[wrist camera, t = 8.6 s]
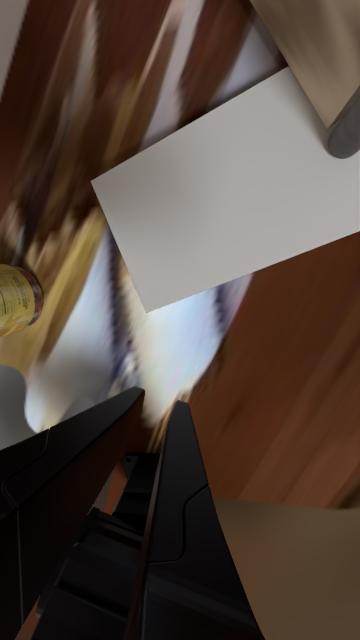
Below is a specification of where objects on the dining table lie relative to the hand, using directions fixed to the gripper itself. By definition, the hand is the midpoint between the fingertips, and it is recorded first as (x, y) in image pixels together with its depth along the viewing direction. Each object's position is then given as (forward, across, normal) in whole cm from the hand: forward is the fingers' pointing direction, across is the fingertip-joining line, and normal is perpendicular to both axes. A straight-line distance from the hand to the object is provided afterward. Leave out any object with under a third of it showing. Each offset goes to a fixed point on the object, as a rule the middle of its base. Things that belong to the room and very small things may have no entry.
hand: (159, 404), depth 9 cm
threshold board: (+14, 0, -9) cm, 16 cm away
